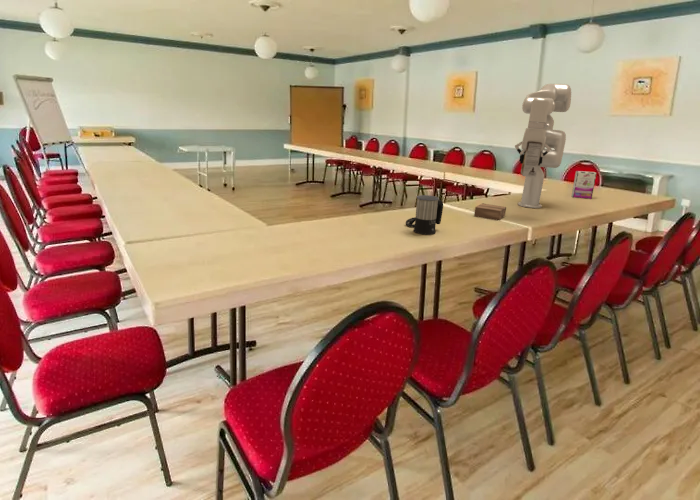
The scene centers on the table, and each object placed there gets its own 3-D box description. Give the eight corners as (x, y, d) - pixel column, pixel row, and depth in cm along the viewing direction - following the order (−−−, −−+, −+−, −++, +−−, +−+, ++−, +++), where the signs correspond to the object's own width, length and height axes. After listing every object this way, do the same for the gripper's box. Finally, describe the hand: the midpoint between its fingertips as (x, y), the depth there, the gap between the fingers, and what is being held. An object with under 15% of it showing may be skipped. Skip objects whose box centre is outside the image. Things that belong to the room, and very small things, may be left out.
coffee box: (519, 173, 231) (525, 139, 226) (533, 174, 230) (539, 140, 225) (522, 176, 223) (528, 141, 218) (536, 177, 222) (542, 142, 216)
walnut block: (481, 212, 241) (482, 203, 240) (504, 216, 235) (506, 207, 234) (473, 217, 231) (475, 207, 230) (498, 221, 225) (500, 211, 224)
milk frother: (429, 236, 192) (433, 200, 187) (395, 229, 200) (398, 194, 195) (443, 229, 203) (447, 195, 199) (410, 223, 211) (413, 190, 207)
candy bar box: (589, 197, 300) (594, 171, 295) (591, 199, 295) (597, 173, 290) (570, 196, 302) (575, 170, 297) (572, 197, 297) (578, 171, 292)
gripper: (557, 127, 219) (550, 165, 224) (518, 124, 226) (512, 161, 232) (556, 127, 212) (548, 167, 218) (515, 124, 219) (509, 163, 225)
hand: (530, 163), depth 225 cm, fingers closed on coffee box, 7 cm apart
